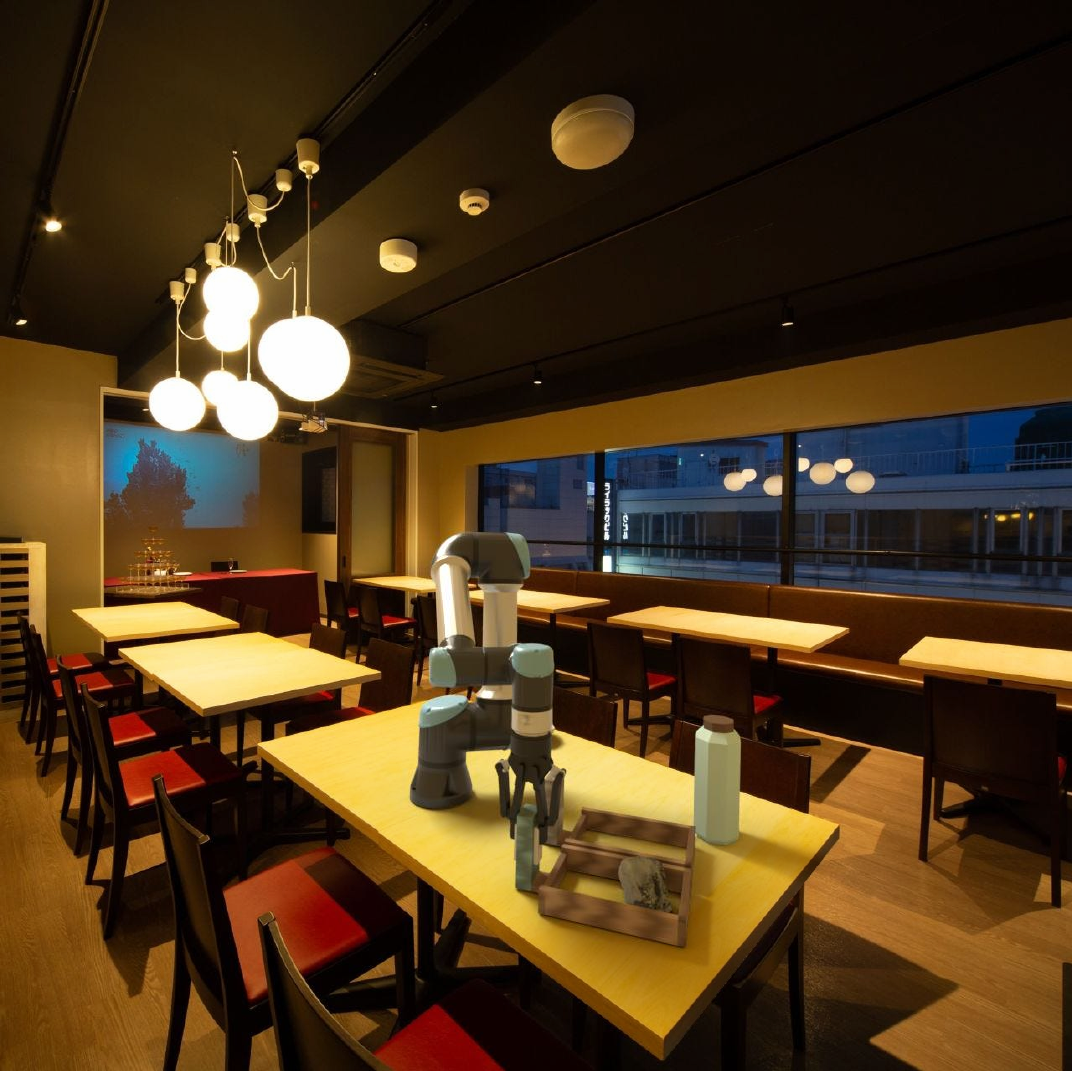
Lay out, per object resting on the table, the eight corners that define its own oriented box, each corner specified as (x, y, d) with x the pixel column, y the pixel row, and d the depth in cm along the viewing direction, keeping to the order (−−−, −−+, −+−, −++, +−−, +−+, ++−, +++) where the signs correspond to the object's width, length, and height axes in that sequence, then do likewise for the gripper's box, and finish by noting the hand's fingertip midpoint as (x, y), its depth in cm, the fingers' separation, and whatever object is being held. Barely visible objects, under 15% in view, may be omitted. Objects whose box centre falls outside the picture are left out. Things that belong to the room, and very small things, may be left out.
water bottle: (685, 824, 130) (687, 712, 130) (728, 823, 130) (730, 712, 131) (701, 847, 120) (704, 726, 120) (748, 847, 120) (751, 726, 121)
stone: (677, 853, 98) (618, 841, 101) (671, 919, 91) (608, 903, 94) (678, 876, 104) (622, 864, 107) (672, 940, 97) (613, 925, 100)
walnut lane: (504, 904, 99) (506, 828, 99) (532, 858, 113) (534, 792, 114) (685, 947, 89) (687, 863, 90) (690, 891, 104) (692, 818, 104)
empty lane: (534, 855, 114) (536, 789, 115) (556, 820, 129) (557, 762, 129) (691, 887, 105) (692, 815, 105) (695, 845, 120) (696, 782, 120)
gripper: (482, 730, 105) (479, 860, 105) (568, 742, 100) (565, 879, 100) (498, 719, 112) (494, 840, 112) (579, 729, 107) (575, 856, 107)
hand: (528, 858), depth 106 cm, fingers closed on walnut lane, 3 cm apart
